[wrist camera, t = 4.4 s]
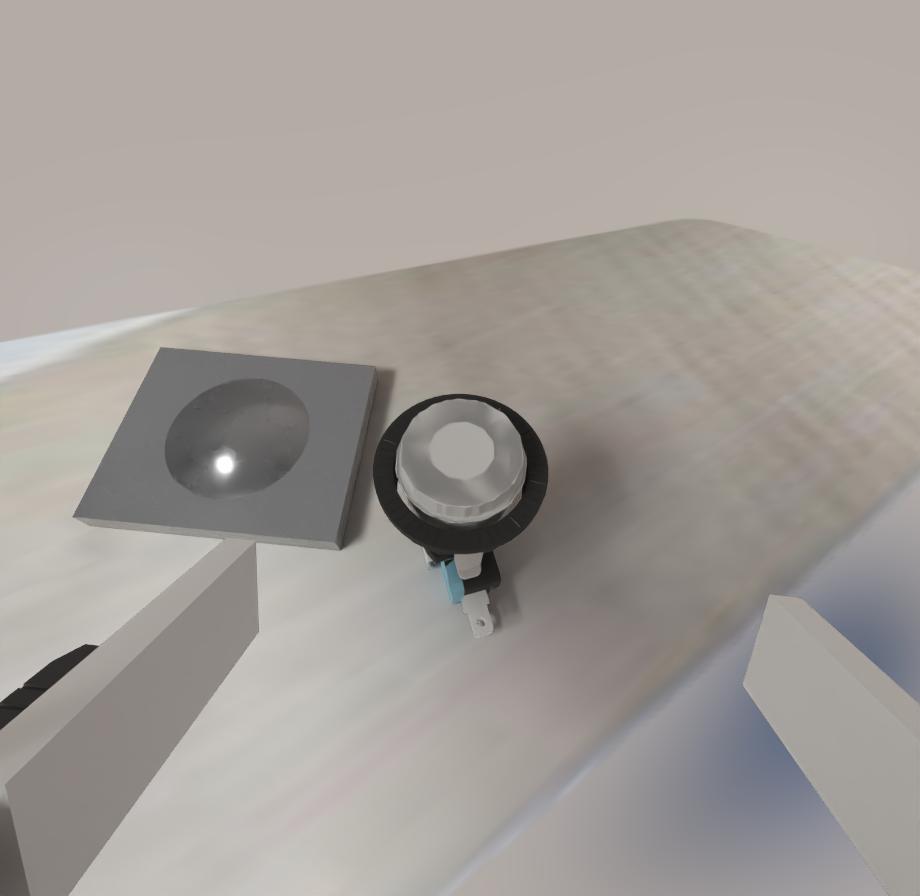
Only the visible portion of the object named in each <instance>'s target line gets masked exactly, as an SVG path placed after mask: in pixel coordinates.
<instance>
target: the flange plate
mask: <svg viewBox="0 0 920 896" xmlns="http://www.w3.org/2000/svg"><path fill="white" fill-rule="evenodd" d="M377 382H378V378H377V373H376V368H375V366H365V365H353V364H342V363H331V362H320V361H309V360H297V359H286V358H275V357H264V356H253V355H241V354H230V353H219V352H208V351H197V350H185V349H174V348H163V347H161V348H160V349H159V351H158V353H157V355H156V357H155V359H154V361H153V363H152V365H151V367H150V369H149V371H148V373H147V375H146V376H145V378H144V380H143V382H142V384H141V386H140V388H139V390H138V392H137V394H136V396H135V398H134V400H133V402H132V403H131V405H130V407H129V409H128V411H127V413H126V415H125V417H124V419H123V421H122V423H121V425H120V427H119V428H118V430H117V432H116V434H115V436H114V438H113V440H112V442H111V444H110V446H109V448H108V450H107V452H106V454H105V455H104V457H103V459H102V461H101V463H100V465H99V467H98V469H97V471H96V473H95V475H94V477H93V479H92V481H91V482H90V484H89V486H88V488H87V490H86V492H85V494H84V496H83V498H82V500H81V502H80V504H79V506H78V507H77V509H76V511H75V513H74V515H73V517H74V518H76V519H78V520H80V521H82V522H83V523H85V524H87V525H89V526H96V527H106V528H116V529H126V530H137V531H147V532H157V533H167V534H177V535H187V536H197V537H208V538H218V539H226V538H235V539H244V540H254V541H256V542H258V543H269V544H279V545H289V546H299V547H309V548H319V549H329V550H341V546H342V541H343V536H344V532H345V527H346V523H347V518H348V514H349V509H350V505H351V500H352V495H353V491H354V486H355V482H356V477H357V473H358V468H359V464H360V459H361V455H362V450H363V445H364V441H365V436H366V432H367V427H368V423H369V418H370V414H371V409H372V405H373V400H374V395H375V391H376V386H377Z"/></svg>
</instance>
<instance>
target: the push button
mask: <svg viewBox="0 0 920 896" xmlns="http://www.w3.org/2000/svg"><path fill="white" fill-rule="evenodd" d="M373 478H374V485H375V489H376V493H377V496H378V499H379V502H380V504H381V506H382V508H383V510H384V512H385V514H386V515H387V517H388V518H389V520H390V521H391V522H392V523H393V525H394V526H395V527H396V528H397V529H398V530H399V531H400V532H401V533H402V534H404V535H405V536H406V537H408V538H409V539H411V541H412V542H414V543H416V544H418V545H420V546H422V548H423V552H424V556H425V560H426V564H427V568H428V570H430V568H429V562H431V561H434V563H439V562H441V566H442V570H443V573H444V577H445V581H446V585H447V588H448V592H449V596H450V600H451V603H452V604H455V603H459V602H461V605H462V608H463V612H464V614H468V617H469V620H470V624H471V628H472V631H473V635H474V637H475V638H476V639H478V638H481V637H484V636H488V635H491V633H492V631H493V629H494V627H493V624H492V621H491V617H490V614H489V611H488V605H487V604H490V602H489V598H488V595H487V594H488V593H489V591H490V589H492V588H496V587H498V586H499V583H500V581H501V577H500V573H499V569H498V566H497V563H496V560H495V557H494V554H493V550H494V549H496V548H497V547H499V546H501V545H503V544H505V543H507V542H509V541H510V540H512V539H513V538H515V537H516V536H517V535H519V534H520V533H521V532H522V531H523V530H524V529H525V528H526V527H527V526H528V525H529V524H530V522H531V521H532V520H533V518H534V517H535V515H536V514H537V512H538V510H539V508H540V506H541V504H542V501H543V499H544V496H545V493H546V489H547V483H548V464H547V458H546V454H545V451H544V448H543V446H542V443H541V441H540V439H539V437H538V436H537V434H536V433H535V431H534V430H533V428H532V427H531V426H530V425H529V424H528V423H527V422H526V421H525V420H524V419H523V418H522V417H521V416H520V415H519V414H518V413H516V412H515V411H513V410H512V409H510V408H509V407H507V406H505V405H503V404H502V403H499V402H497V401H495V400H492V399H489V398H486V397H481V396H477V395H470V394H450V395H442V396H438V397H434V398H431V399H427V400H425V401H422V402H420V403H418V404H416V405H414V406H412V407H411V408H409V409H408V410H406V411H405V412H403V413H402V414H401V415H400V416H398V417H397V418H396V419H395V420H394V421H393V422H392V424H391V425H390V426H389V427H388V429H387V430H386V432H385V433H384V435H383V436H382V438H381V440H380V442H379V445H378V447H377V450H376V454H375V458H374V465H373ZM398 480H399V483H400V485H401V487H402V489H403V492H404V494H405V495H406V497H407V499H408V504H409V506H410V508H411V509H412V511H413V512H414V513H413V512H412V511H411V510H410V509H409V508H408V507H407V506H406V505H405V504H404V502H403V501H402V499H401V498H400V496H399V494H398V492H397V483H398ZM521 489H522V498H521V500H520V502H519V503H518V504H517V506H516V507H515V508H514V509H513V510H512V511H511V512H510V513H509V514H508V515H507V516H505V517H504V518H503V516H504V515H505V513H506V511H507V510H508V508H509V506H510V505H511V503H512V501H513V500H514V499H515V497H516V496H517V494H518V493H519V491H520V490H521ZM502 518H503V519H502ZM478 620H483V621H484V623H485V625H484V626H479V625H478V624H477V621H478Z"/></svg>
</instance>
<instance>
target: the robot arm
mask: <svg viewBox="0 0 920 896" xmlns="http://www.w3.org/2000/svg"><path fill="white" fill-rule="evenodd" d="M258 632H259V621H258V592H257V563H256V541H254V540H244V539H235V538H226V539H225V540H223V541H222V542H221V543H220V544H219V545H218V546H216V547H215V548H214V549H213V550H212V551H210V552H209V553H208V554H207V555H206V556H205V557H203V558H202V559H201V560H200V561H199V562H198V563H196V564H195V565H194V566H193V567H192V568H190V569H189V570H188V571H187V572H186V573H185V574H183V575H182V576H181V577H180V578H179V579H178V580H176V581H175V582H174V583H173V584H172V585H171V586H169V587H168V588H167V589H166V590H165V591H163V592H162V593H161V594H160V595H159V596H158V597H156V598H155V599H154V600H153V601H152V602H151V603H149V604H148V605H147V606H146V607H145V608H143V609H142V610H141V611H140V612H139V613H138V614H136V615H135V616H134V617H133V618H132V619H131V620H129V621H128V622H127V623H126V624H125V625H124V626H122V627H121V628H120V629H119V630H118V631H116V632H115V633H114V634H113V635H112V636H111V637H109V638H108V639H107V640H106V641H105V642H104V643H102V644H101V645H100V646H96V645H87V644H85V645H83V646H81V647H79V648H77V649H75V650H73V651H71V652H69V653H67V654H66V655H64V656H62V657H60V658H58V659H56V660H54V661H52V662H51V663H49V664H48V665H47V666H46V667H44V668H43V669H42V670H41V671H39V672H38V673H37V674H35V675H34V676H33V677H32V678H30V679H29V680H28V681H27V682H25V683H24V686H23V687H22V688H18V689H17V690H15V691H14V692H13V693H12V694H10V695H9V696H8V697H7V698H5V699H4V700H3V701H1V702H0V896H68V895H69V894H70V892H71V891H72V890H73V888H74V887H75V885H76V884H77V883H78V881H79V880H80V878H81V877H82V876H83V874H84V873H85V872H86V870H87V869H88V867H89V866H90V865H91V863H92V862H93V860H94V859H95V858H96V856H97V855H98V854H99V852H100V851H101V849H102V848H103V847H104V845H105V844H106V842H107V841H108V840H109V838H110V837H111V836H112V834H113V833H114V831H115V830H116V829H117V827H118V826H119V824H120V823H121V822H122V820H123V819H124V818H125V816H126V815H127V813H128V812H129V811H130V809H131V808H132V806H133V805H134V804H135V802H136V801H137V800H138V798H139V797H140V795H141V794H142V793H143V791H144V790H145V788H146V787H147V786H148V784H149V783H150V782H151V780H152V779H153V777H154V776H155V775H156V773H157V772H158V770H159V769H160V768H161V766H162V765H163V764H164V762H165V761H166V759H167V758H168V757H169V755H170V754H171V752H172V751H173V750H174V748H175V747H176V746H177V744H178V743H179V741H180V740H181V739H182V737H183V736H184V735H185V733H186V732H187V730H188V729H189V728H190V726H191V725H192V723H193V722H194V721H195V719H196V718H197V717H198V715H199V714H200V712H201V711H202V710H203V708H204V707H205V705H206V704H207V703H208V701H209V700H210V699H211V697H212V696H213V694H214V693H215V692H216V690H217V689H218V687H219V686H220V685H221V683H222V682H223V681H224V679H225V678H226V676H227V675H228V674H229V672H230V671H231V669H232V668H233V667H234V665H235V664H236V663H237V661H238V660H239V658H240V657H241V656H242V654H243V653H244V651H245V650H246V649H247V647H248V646H249V645H250V643H251V642H252V640H253V639H254V638H255V636H256V635H257V633H258ZM742 685H743V686H744V688H745V689H746V691H747V692H748V694H749V695H750V697H751V698H752V699H753V701H754V702H755V704H756V705H757V707H758V708H759V709H760V711H761V712H762V714H763V715H764V717H765V718H766V720H767V721H768V722H769V724H770V725H771V727H772V728H773V730H774V731H775V733H776V734H777V735H778V737H779V738H780V740H781V741H782V742H783V744H784V745H785V747H786V748H787V750H788V751H789V753H790V754H791V755H792V757H793V758H794V760H795V761H796V763H797V764H798V766H799V767H800V769H801V770H802V771H803V773H804V774H805V776H806V777H807V779H808V780H809V781H810V783H811V784H812V786H813V787H814V788H815V790H816V792H817V793H818V794H819V796H820V797H821V799H822V800H823V802H824V803H825V804H826V806H827V807H828V809H829V810H830V812H831V813H832V815H833V816H834V817H835V819H836V820H837V822H838V823H839V825H840V826H841V828H842V829H843V830H844V832H845V833H846V835H847V836H848V838H849V839H850V840H851V842H852V843H853V845H854V846H855V848H856V849H857V851H858V852H859V853H860V855H861V856H862V858H863V859H864V861H865V862H866V863H867V865H868V866H869V868H870V869H871V870H872V872H873V873H874V875H875V876H876V878H877V879H878V881H879V882H880V884H881V885H882V887H883V888H884V889H885V891H886V892H887V894H888V895H889V896H920V704H919V703H918V702H917V701H915V700H914V699H913V698H912V697H911V696H910V695H909V694H908V693H906V692H905V691H904V690H903V689H902V688H901V687H900V686H899V685H898V684H896V683H895V682H894V681H893V680H892V679H891V678H890V677H889V676H887V675H886V674H885V673H884V672H883V671H882V670H881V669H880V668H878V667H877V666H876V665H875V664H874V663H873V662H872V661H871V660H869V659H868V658H867V657H866V656H865V655H864V654H863V653H862V652H861V651H859V650H858V649H857V648H856V647H855V646H854V645H853V644H852V643H851V642H849V641H848V640H847V639H846V638H845V637H844V636H843V635H842V634H840V633H839V632H838V631H837V630H836V629H835V628H834V627H833V626H832V625H830V624H829V623H828V622H827V621H826V620H825V619H824V618H823V617H822V616H820V615H819V614H818V613H817V612H816V611H815V610H814V609H813V608H812V607H810V606H809V605H808V604H807V603H806V602H805V601H803V600H802V599H801V598H799V597H789V596H780V595H769V598H768V601H767V605H766V608H765V611H764V615H763V618H762V621H761V625H760V628H759V631H758V635H757V638H756V641H755V645H754V648H753V651H752V655H751V658H750V661H749V664H748V668H747V671H746V674H745V678H744V681H743V684H742Z"/></svg>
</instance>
